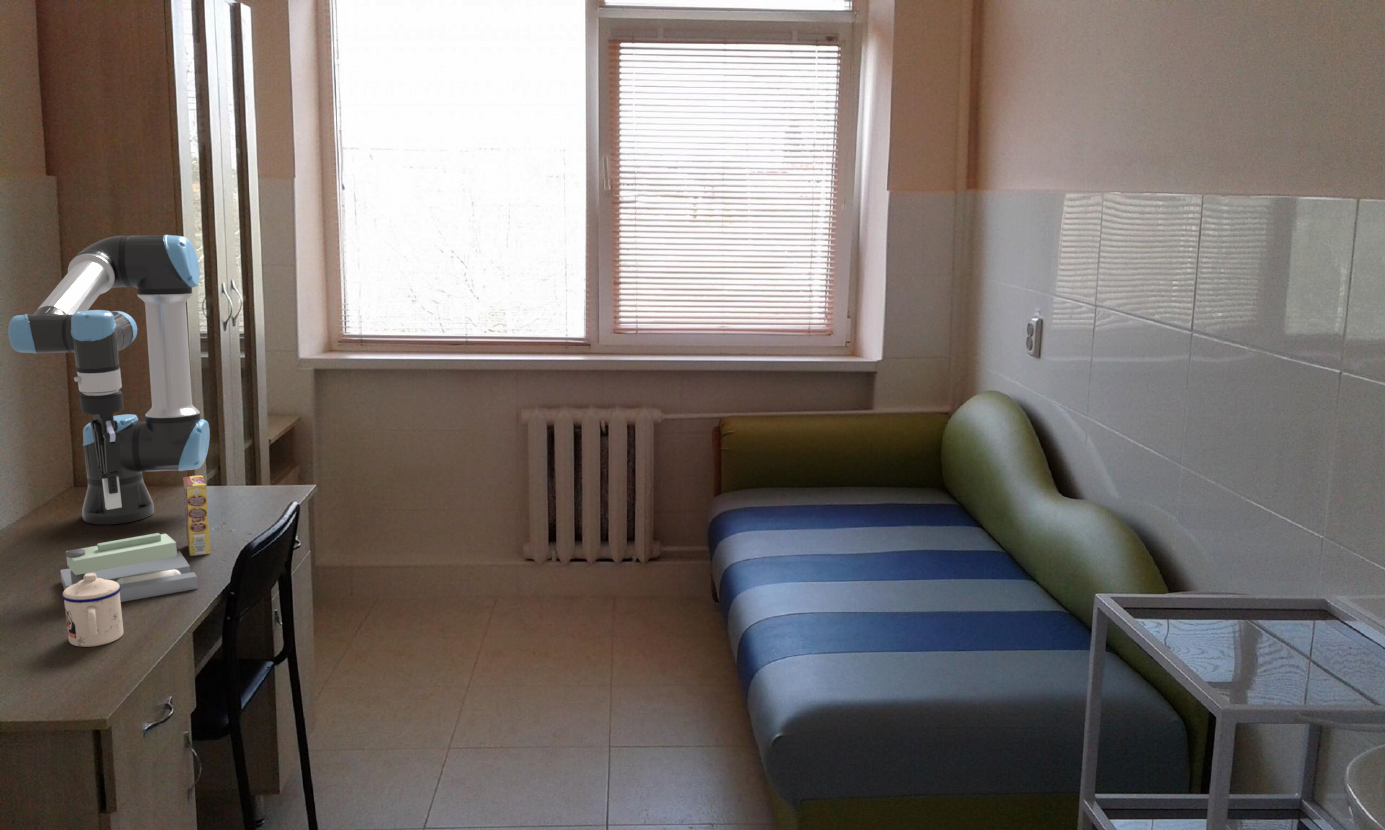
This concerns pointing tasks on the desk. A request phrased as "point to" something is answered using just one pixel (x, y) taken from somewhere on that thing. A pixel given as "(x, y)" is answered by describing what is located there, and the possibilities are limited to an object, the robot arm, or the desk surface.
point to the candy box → (196, 515)
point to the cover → (121, 553)
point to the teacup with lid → (93, 611)
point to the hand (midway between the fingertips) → (113, 507)
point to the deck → (147, 586)
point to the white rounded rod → (148, 576)
